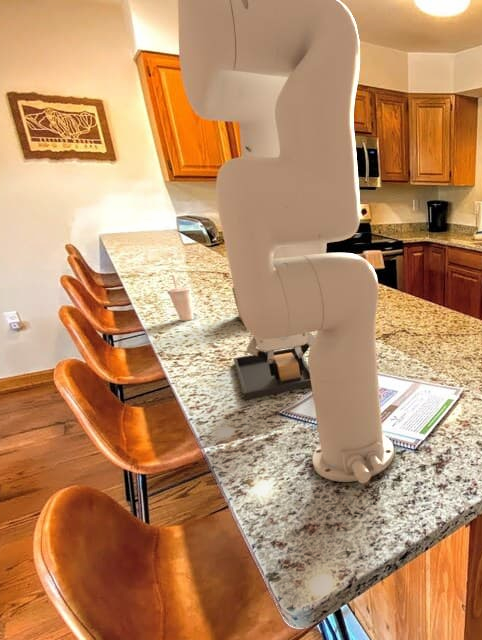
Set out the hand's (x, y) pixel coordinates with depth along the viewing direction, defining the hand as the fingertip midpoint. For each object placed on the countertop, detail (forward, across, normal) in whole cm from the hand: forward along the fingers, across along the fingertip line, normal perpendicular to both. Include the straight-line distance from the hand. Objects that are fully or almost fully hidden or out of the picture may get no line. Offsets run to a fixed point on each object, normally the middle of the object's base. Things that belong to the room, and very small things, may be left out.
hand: (287, 374), depth 93 cm
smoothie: (+2, -19, +64) cm, 67 cm away
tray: (+1, -2, +4) cm, 5 cm away
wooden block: (+1, 0, 0) cm, 1 cm away
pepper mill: (+1, +1, +57) cm, 57 cm away
